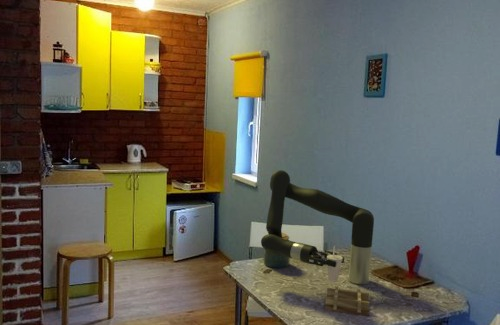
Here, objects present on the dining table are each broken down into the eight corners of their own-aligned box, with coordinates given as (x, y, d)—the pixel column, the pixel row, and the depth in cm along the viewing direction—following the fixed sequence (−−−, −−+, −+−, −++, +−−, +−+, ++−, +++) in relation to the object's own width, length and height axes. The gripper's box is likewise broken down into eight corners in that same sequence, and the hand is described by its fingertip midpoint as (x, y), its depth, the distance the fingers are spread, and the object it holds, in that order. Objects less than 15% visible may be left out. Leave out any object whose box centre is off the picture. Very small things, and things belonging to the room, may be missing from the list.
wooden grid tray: (326, 293, 205) (327, 284, 205) (367, 299, 202) (368, 290, 202) (324, 310, 189) (325, 300, 188) (369, 316, 186) (370, 306, 185)
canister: (290, 269, 234) (292, 234, 232) (263, 267, 234) (265, 232, 232) (288, 260, 247) (290, 227, 244) (263, 259, 247) (265, 225, 245)
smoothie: (330, 276, 199) (332, 243, 198) (343, 280, 195) (346, 246, 194) (322, 280, 194) (324, 246, 193) (336, 284, 190) (338, 250, 189)
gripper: (295, 247, 196) (332, 257, 186) (312, 240, 208) (348, 249, 198) (294, 265, 197) (330, 276, 187) (311, 257, 209) (347, 267, 199)
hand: (339, 262), depth 193 cm, fingers closed on smoothie, 6 cm apart
